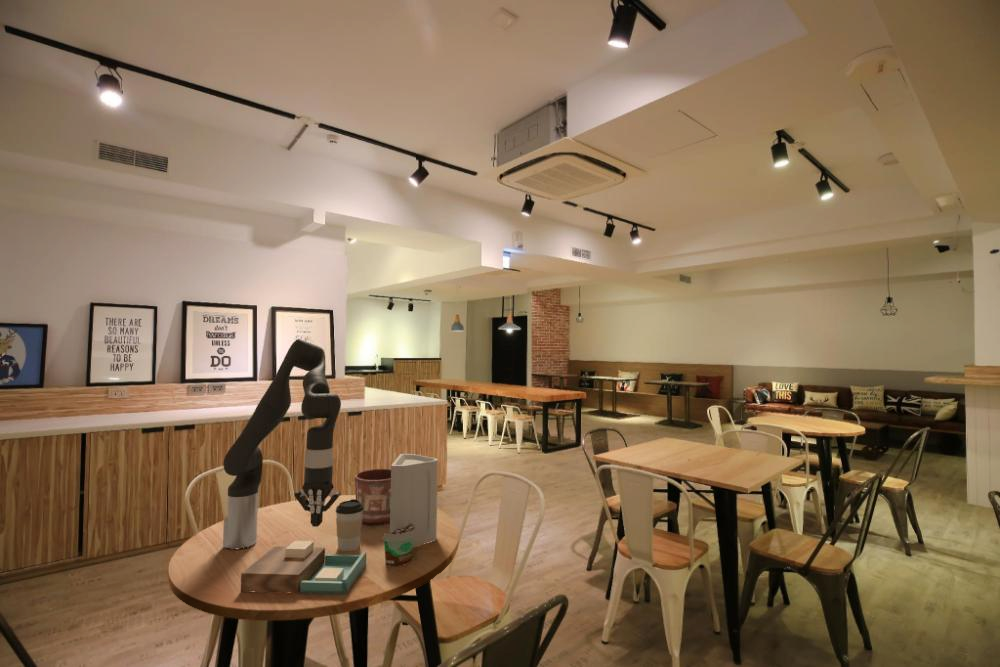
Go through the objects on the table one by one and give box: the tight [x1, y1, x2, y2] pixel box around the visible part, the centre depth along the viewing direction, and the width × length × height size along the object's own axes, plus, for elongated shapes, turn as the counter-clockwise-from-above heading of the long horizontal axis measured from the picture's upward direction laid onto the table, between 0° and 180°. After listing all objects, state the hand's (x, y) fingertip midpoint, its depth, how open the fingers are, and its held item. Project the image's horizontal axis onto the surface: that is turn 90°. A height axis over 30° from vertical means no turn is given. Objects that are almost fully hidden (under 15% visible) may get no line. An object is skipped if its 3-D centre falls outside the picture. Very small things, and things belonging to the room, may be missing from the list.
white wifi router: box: [389, 453, 439, 548], centre depth 167 cm, size 19×15×28 cm
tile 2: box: [315, 568, 344, 581], centre depth 133 cm, size 6×6×2 cm
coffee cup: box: [335, 498, 364, 552], centre depth 159 cm, size 9×9×15 cm
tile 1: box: [285, 540, 315, 558], centre depth 142 cm, size 6×6×2 cm
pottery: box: [354, 468, 391, 526], centre depth 186 cm, size 18×18×18 cm
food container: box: [382, 523, 416, 567], centre depth 149 cm, size 12×6×10 cm, turn 148°
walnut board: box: [240, 545, 326, 594], centre depth 138 cm, size 16×18×5 cm
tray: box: [299, 551, 367, 596], centre depth 137 cm, size 12×18×4 cm
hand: (316, 525), depth 133 cm, fingers closed
